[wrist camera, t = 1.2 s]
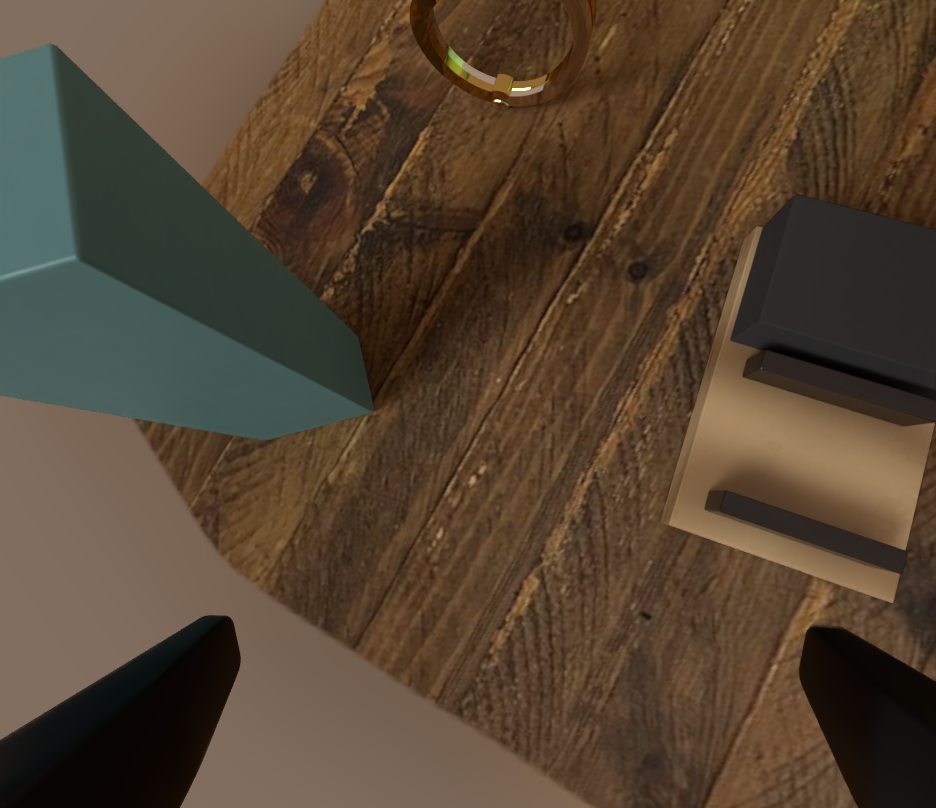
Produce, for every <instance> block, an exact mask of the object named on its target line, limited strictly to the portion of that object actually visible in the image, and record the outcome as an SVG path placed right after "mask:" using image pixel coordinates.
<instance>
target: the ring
mask: <svg viewBox="0 0 936 808" xmlns="http://www.w3.org/2000/svg"><path fill="white" fill-rule="evenodd" d="M438 1H439V0H412V2H411V6H410V23H411V27H412V31H413V34H414V36H415V38H416V41H417V43H418V45H419V46H420V48H421V50H422V51H423V53H424V54H425V56H426V57H427V59H428V60H429V61H430V62H431V64H432V65H433V66H434V67H435V68H436V69H437V70H438V71H439V72H440V73H441V74H442V75H443V76H444V77H445V78H447V79H448V80H449V81H450V82H452V83H453V84H454V85H456V86H457V87H459V88H461V89H462V90H464V91H466V92H468V93H470V94H472V95H474V96H476V97H478V98H481V99H483V100H486V101H489V102H492V105H493V106H494V107H496V108H499V109H508V108H509V106H531V105H536V104H540V103H543V102H546V101H548V100H550V99H552V98H554V97H556V96H557V95H559V94H560V93H562V92H563V91H564V90H565V89H566V88H568V87H569V86H570V84H571V83H572V82H573V81H574V80H575V78H576V77H577V76H578V74H579V72H580V70H581V68H582V66H583V64H584V61H585V58H586V55H587V53H588V50H589V46H590V42H591V38H592V35H593V31H594V26H595V19H596V0H561V1H562V2H563V4H564V6H565V8H566V10H567V12H568V15H569V18H570V22H571V27H572V33H573V42H572V46H571V48H570V50H569V52H568V53H567V55H566V57H565V58H564V60H563V61H562V62H561V63H560V64H559V65H558V66H557V67H556V68H555V69H554V70H553V71H551V72H550V73H548V74H546V75H545V76H542V77H540V78H537V79H534V80H529V81H514V79H513V78H512V77H511V76H509V75H505V74H498V75H497V76H496V78H494V77H491V76H489V75H486V74H484V73H482V72H480V71H478V70H476V69H474V68H473V67H471V66H470V65H468V64H467V63H466V62H464V61H463V60H462V59H461V58H460V57H459V56H458V55H457V54H456V53H455V52H454V51H453V50H452V49H451V47H450V46H449V45H448V44H447V42H446V41H445V39H444V37H443V36H442V34H441V32H440V30H439V28H438V25H437V22H436V19H435V15H434V10H433V7H434V5H435V4H436V3H437V2H438Z"/></svg>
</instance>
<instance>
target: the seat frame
mask: <svg viewBox="0 0 936 808" xmlns="http://www.w3.org/2000/svg"><path fill="white" fill-rule="evenodd" d="M935 422H936V230H935V229H931V228H927V227H923V226H919V225H915V224H912V223H908V222H904V221H900V220H896V219H892V218H888V217H884V216H880V215H877V214H873V213H869V212H865V211H861V210H857V209H853V208H849V207H846V206H842V205H838V204H834V203H830V202H826V201H822V200H818V199H815V198H811V197H807V196H803V195H799V194H796V195H794V196H793V197H792V198H791V199H790V200H789V201H788V202H787V203H786V204H785V205H784V206H783V207H782V208H781V209H780V210H779V211H778V212H777V213H776V214H775V215H774V216H773V217H772V218H771V219H770V220H769V221H768V222H767V223H766V224H765V225H764V226H763V227H759V226H757V227H756V228H755V229H754V230H753V231H752V232H751V233H750V234H749V235H748V236H747V237H746V238H745V239H744V241H743V244H742V247H741V251H740V254H739V257H738V261H737V264H736V268H735V271H734V274H733V278H732V281H731V284H730V288H729V291H728V295H727V298H726V301H725V305H724V308H723V312H722V315H721V318H720V322H719V325H718V328H717V332H716V335H715V339H714V342H713V345H712V349H711V352H710V355H709V359H708V362H707V366H706V369H705V372H704V376H703V379H702V382H701V386H700V389H699V393H698V396H697V399H696V403H695V406H694V409H693V413H692V416H691V420H690V423H689V426H688V430H687V433H686V436H685V440H684V443H683V447H682V450H681V453H680V457H679V460H678V464H677V467H676V470H675V474H674V477H673V480H672V484H671V487H670V491H669V494H668V497H667V501H666V504H665V507H664V511H663V514H662V518H661V523H663V524H666V525H669V526H671V527H674V528H677V529H680V530H683V531H686V532H689V533H691V534H694V535H697V536H700V537H703V538H706V539H708V540H711V541H714V542H717V543H720V544H723V545H726V546H728V547H731V548H734V549H737V550H740V551H743V552H746V553H748V554H751V555H754V556H757V557H760V558H763V559H766V560H768V561H771V562H774V563H777V564H780V565H783V566H786V567H788V568H791V569H794V570H797V571H800V572H803V573H805V574H808V575H811V576H814V577H817V578H820V579H823V580H825V581H828V582H831V583H834V584H837V585H840V586H843V587H845V588H848V589H851V590H854V591H857V592H860V593H863V594H865V595H868V596H871V597H874V598H878V599H881V600H884V601H887V602H890V603H893V602H894V598H895V593H896V589H897V585H898V581H899V576H900V574H902V573H903V569H904V565H905V561H906V557H907V551H906V546H907V542H908V538H909V534H910V529H911V525H912V521H913V516H914V512H915V508H916V504H917V499H918V495H919V491H920V486H921V482H922V478H923V474H924V469H925V465H926V461H927V457H928V452H929V448H930V444H931V439H932V435H933V431H934V427H935Z"/></svg>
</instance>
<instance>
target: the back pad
mask: <svg viewBox="0 0 936 808" xmlns="http://www.w3.org/2000/svg"><path fill="white" fill-rule="evenodd" d="M0 396H6V397H12V398H18V399H23V400H29V401H35V402H41V403H47V404H53V405H59V406H64V407H70V408H77V409H82V410H89V411H94V412H100V413H106V414H111V415H117V416H123V417H129V418H135V419H141V420H147V421H153V422H158V423H164V424H170V425H176V426H182V427H188V428H194V429H199V430H205V431H211V432H217V433H223V434H229V435H235V436H241V437H246V438H252V439H258V440H264V441H266V440H270V439H274V438H278V437H281V436H285V435H289V434H293V433H297V432H301V431H304V430H308V429H312V428H316V427H320V426H323V425H327V424H331V423H335V422H339V421H342V420H346V419H350V418H354V417H358V416H362V415H365V414H369V413H373V412H374V406H373V402H372V397H371V392H370V388H369V383H368V379H367V374H366V370H365V365H364V361H363V356H362V352H361V347H360V343H359V338H358V336H357V335H356V334H355V333H354V332H353V331H352V330H350V329H349V328H348V327H347V326H346V325H345V324H344V323H343V322H342V321H341V320H340V319H339V318H338V317H337V316H336V315H335V314H334V313H333V312H332V311H331V310H330V309H329V308H328V307H327V306H326V305H325V304H324V303H322V302H321V301H320V300H319V299H318V298H317V297H316V296H315V295H314V294H313V293H312V292H311V291H310V290H309V289H308V288H307V287H306V286H305V285H304V284H303V283H302V282H301V281H300V280H299V279H298V278H297V277H296V276H294V275H293V274H292V273H291V272H290V271H289V270H288V269H287V268H286V267H285V266H284V265H283V264H282V263H281V262H280V261H279V260H278V259H277V258H276V257H275V256H274V255H273V254H272V253H271V252H270V251H269V250H268V249H267V248H265V247H264V246H263V245H262V244H261V243H260V242H259V241H258V240H257V239H256V238H255V237H254V236H253V235H252V234H251V233H250V232H249V231H248V230H247V229H246V228H245V227H244V226H243V225H242V224H241V223H240V222H239V221H237V220H236V219H235V218H234V217H233V216H232V215H231V214H230V213H229V212H228V211H227V210H226V209H225V208H224V207H223V206H222V205H221V204H220V203H219V202H218V201H217V200H216V199H215V198H214V197H213V196H212V195H211V194H210V193H208V192H207V191H206V190H205V189H204V188H203V187H202V186H201V185H200V184H199V183H198V182H197V181H196V180H195V179H194V178H193V177H192V176H191V175H190V174H189V173H188V172H187V171H186V170H185V169H184V168H183V167H181V166H180V165H179V164H178V163H177V162H176V161H175V160H174V159H173V158H172V157H171V156H170V155H169V154H168V153H167V152H166V151H165V150H164V149H163V148H162V147H161V146H160V145H159V144H158V143H156V141H155V140H153V139H152V138H151V137H150V136H149V135H148V134H147V133H146V132H145V131H144V130H143V129H142V128H141V127H140V126H139V125H138V124H137V123H136V122H135V121H134V120H133V119H132V118H131V117H130V116H129V115H128V114H127V113H126V112H125V111H123V110H122V109H121V108H120V107H119V106H118V105H117V104H116V103H115V102H114V101H113V100H112V99H111V98H110V97H109V96H108V95H107V94H106V93H105V92H104V91H103V90H102V89H101V88H100V87H99V86H98V85H96V84H95V83H94V82H93V81H92V80H91V79H90V78H89V77H88V76H87V75H86V74H85V73H84V72H83V71H82V70H81V69H80V68H79V67H78V66H77V65H76V64H75V63H74V62H73V61H72V60H71V59H70V58H68V57H67V56H66V55H65V54H64V53H63V52H62V51H61V50H60V49H59V48H58V47H57V46H55V45H54V44H47V45H43V46H40V47H37V48H33V49H31V50H27V51H24V52H20V53H17V54H14V55H10V56H7V57H4V58H0Z"/></svg>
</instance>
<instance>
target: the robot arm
mask: <svg viewBox="0 0 936 808" xmlns="http://www.w3.org/2000/svg"><path fill="white" fill-rule="evenodd" d="M240 659H241V657H240V651H239V646H238V642H237V637H236V632H235V628H234V623H233V621H232V620H231V618H230V617H228V616H215V615H209V616H204V617H201V618H200V619H198V620H196V621H195V622H193V623H191V624H190V625H188V626H187V627H185V628H183V629H181V630H180V631H178V632H177V633H175V634H173V635H172V636H170V637H168V638H167V639H165V640H163V641H162V642H160V643H159V644H157V645H155V646H154V647H152V648H150V649H149V650H147V651H145V652H144V653H142V654H140V655H139V656H137V657H136V658H134V659H132V660H131V661H129V662H127V663H126V664H124V665H122V666H121V667H119V668H117V669H116V670H114V671H113V672H111V673H109V674H108V675H106V676H105V677H103V678H101V679H100V680H98V681H96V682H95V683H93V684H91V685H90V686H88V687H86V688H85V689H83V690H81V691H80V692H78V693H76V694H75V695H73V696H72V697H70V698H68V699H67V700H65V701H63V702H62V703H60V704H59V705H57V706H55V707H53V708H52V709H51V710H49V711H47V712H45V713H44V714H42V715H41V716H39V717H37V718H35V719H34V720H33V721H31V722H29V723H27V724H26V725H24V726H22V727H21V728H19V729H18V730H16V731H14V732H12V733H11V734H9V735H8V736H6V737H4V738H3V739H1V740H0V808H180V806H181V805H182V803H183V801H184V798H185V797H186V795H187V793H188V791H189V789H190V786H191V785H192V782H193V780H194V778H195V776H196V774H197V772H198V770H199V768H200V765H201V763H202V761H203V758H204V756H205V753H206V751H207V748H208V746H209V744H210V741H211V738H212V736H213V734H214V731H215V729H216V726H217V724H218V721H219V719H220V716H221V714H222V711H223V709H224V706H225V704H226V702H227V699H228V696H229V694H230V692H231V689H232V687H233V684H234V682H235V679H236V677H237V674H238V671H239V668H240V662H241V660H240ZM799 676H800V681H801V684H802V687H803V689H804V692H805V694H806V696H807V698H808V700H809V703H810V705H811V707H812V709H813V712H814V714H815V716H816V718H817V720H818V723H819V725H820V727H821V729H822V731H823V734H824V736H825V738H826V740H827V742H828V745H829V747H830V749H831V751H832V753H833V756H834V758H835V760H836V762H837V764H838V767H839V769H840V771H841V773H842V775H843V778H844V780H845V782H846V784H847V786H848V788H849V790H850V792H851V794H852V796H853V798H854V801H855V802H856V804H857V806H858V808H936V681H934V680H932V679H931V678H929V677H927V676H925V675H924V674H922V673H920V672H919V671H917V670H915V669H913V668H912V667H910V666H908V665H906V664H905V663H903V662H901V661H900V660H898V659H896V658H894V657H893V656H891V655H889V654H888V653H886V652H884V651H882V650H881V649H879V648H877V647H876V646H874V645H872V644H870V643H869V642H867V641H865V640H864V639H862V638H860V637H858V636H857V635H855V634H853V633H852V632H850V631H848V630H846V629H844V628H843V627H839V626H817V625H815V626H811V627H810V628H809V629H808V630H807V632H806V635H805V640H804V646H803V651H802V656H801V661H800V666H799Z"/></svg>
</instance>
